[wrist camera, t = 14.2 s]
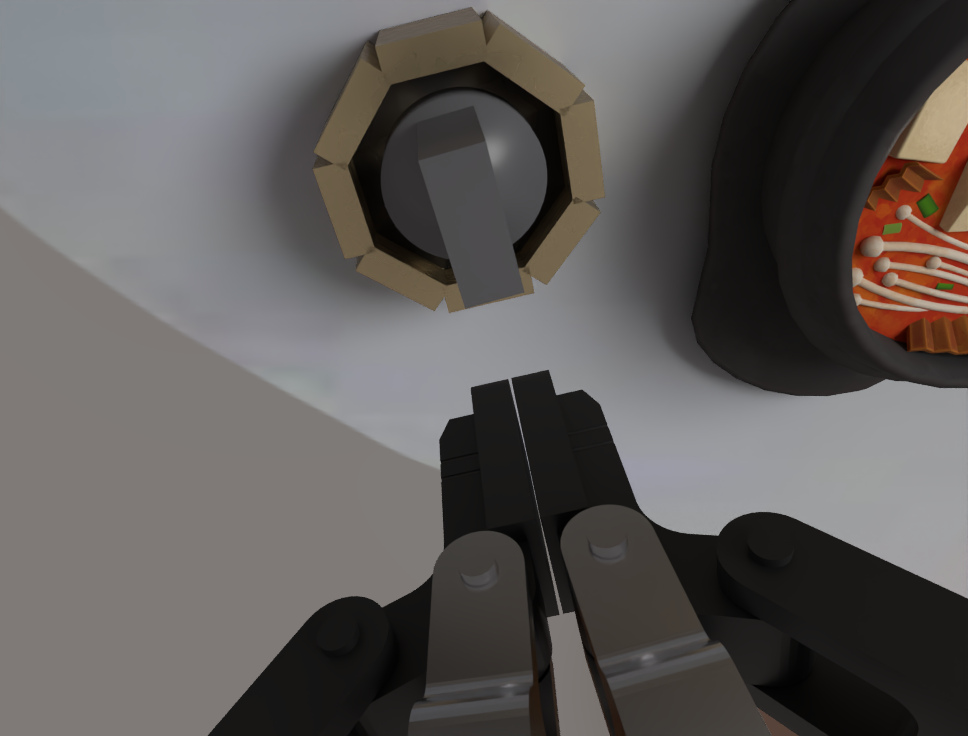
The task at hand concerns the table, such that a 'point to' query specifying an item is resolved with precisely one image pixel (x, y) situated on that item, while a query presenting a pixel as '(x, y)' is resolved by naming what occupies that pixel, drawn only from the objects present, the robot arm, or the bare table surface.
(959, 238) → the casserole
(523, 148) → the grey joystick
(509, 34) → the octagonal wooden ring
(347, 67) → the table surface
